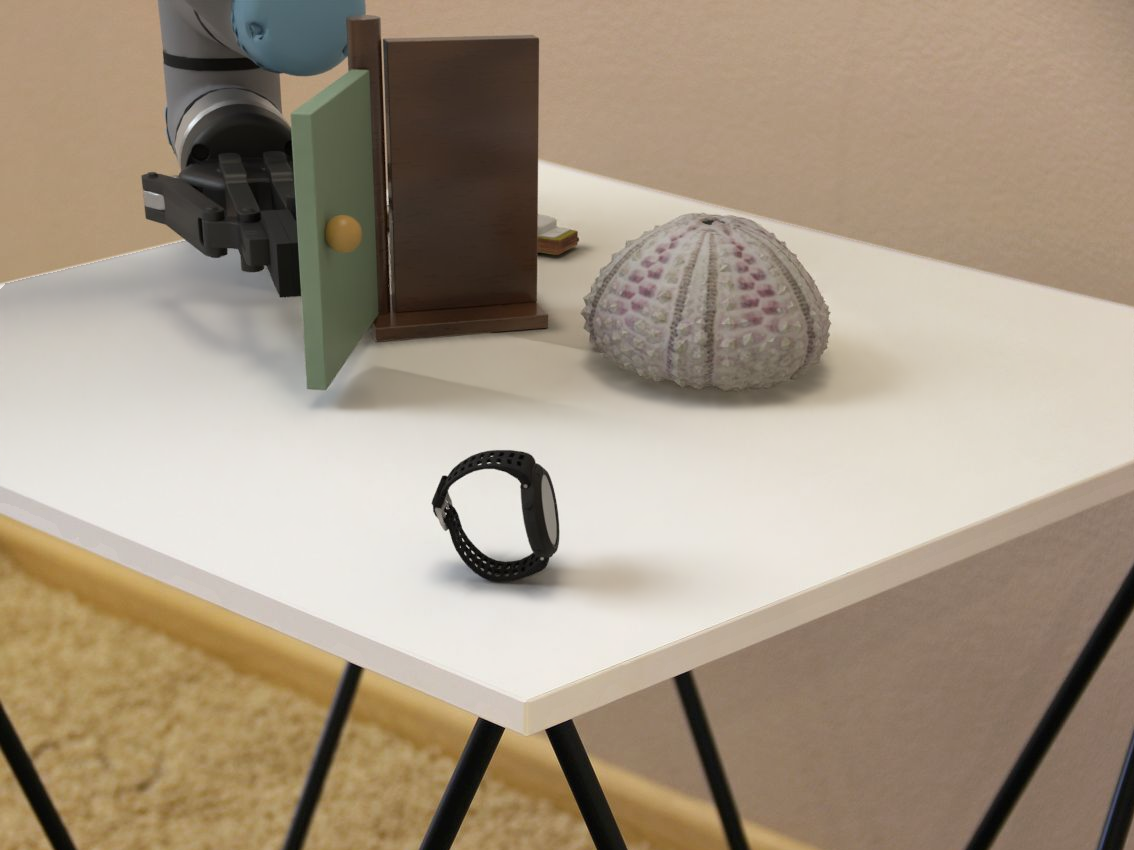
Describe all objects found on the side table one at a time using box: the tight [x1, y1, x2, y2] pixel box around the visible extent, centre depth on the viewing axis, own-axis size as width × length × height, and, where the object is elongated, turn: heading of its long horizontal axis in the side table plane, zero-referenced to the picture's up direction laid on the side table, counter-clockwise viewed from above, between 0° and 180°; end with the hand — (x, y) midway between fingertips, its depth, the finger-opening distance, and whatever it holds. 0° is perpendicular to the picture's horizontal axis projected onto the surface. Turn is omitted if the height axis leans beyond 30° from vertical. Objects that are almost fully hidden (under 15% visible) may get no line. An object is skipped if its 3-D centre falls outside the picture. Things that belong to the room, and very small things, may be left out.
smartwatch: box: [431, 449, 560, 583], centre depth 60 cm, size 4×5×5 cm
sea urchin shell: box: [580, 212, 832, 393], centre depth 81 cm, size 13×14×8 cm
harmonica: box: [387, 204, 580, 256], centre depth 104 cm, size 15×3×2 cm, turn 64°
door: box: [290, 69, 378, 391], centre depth 78 cm, size 12×3×14 cm, turn 175°
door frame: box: [346, 14, 549, 342], centre depth 85 cm, size 10×6×17 cm, turn 108°
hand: (293, 270), depth 75 cm, fingers closed
